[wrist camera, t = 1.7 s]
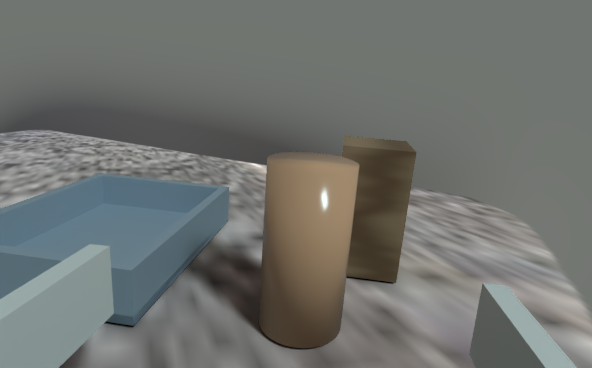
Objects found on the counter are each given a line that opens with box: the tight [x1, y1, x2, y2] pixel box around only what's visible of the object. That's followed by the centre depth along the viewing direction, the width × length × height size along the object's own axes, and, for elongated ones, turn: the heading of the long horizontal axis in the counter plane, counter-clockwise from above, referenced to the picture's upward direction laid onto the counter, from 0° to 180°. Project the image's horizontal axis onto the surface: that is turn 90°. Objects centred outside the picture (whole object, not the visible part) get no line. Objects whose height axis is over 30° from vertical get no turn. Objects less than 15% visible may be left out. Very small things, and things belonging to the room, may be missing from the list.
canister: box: [259, 152, 359, 348], centre depth 22 cm, size 5×5×10 cm
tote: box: [0, 173, 229, 326], centre depth 31 cm, size 14×18×4 cm
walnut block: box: [342, 136, 416, 283], centre depth 31 cm, size 5×5×10 cm
